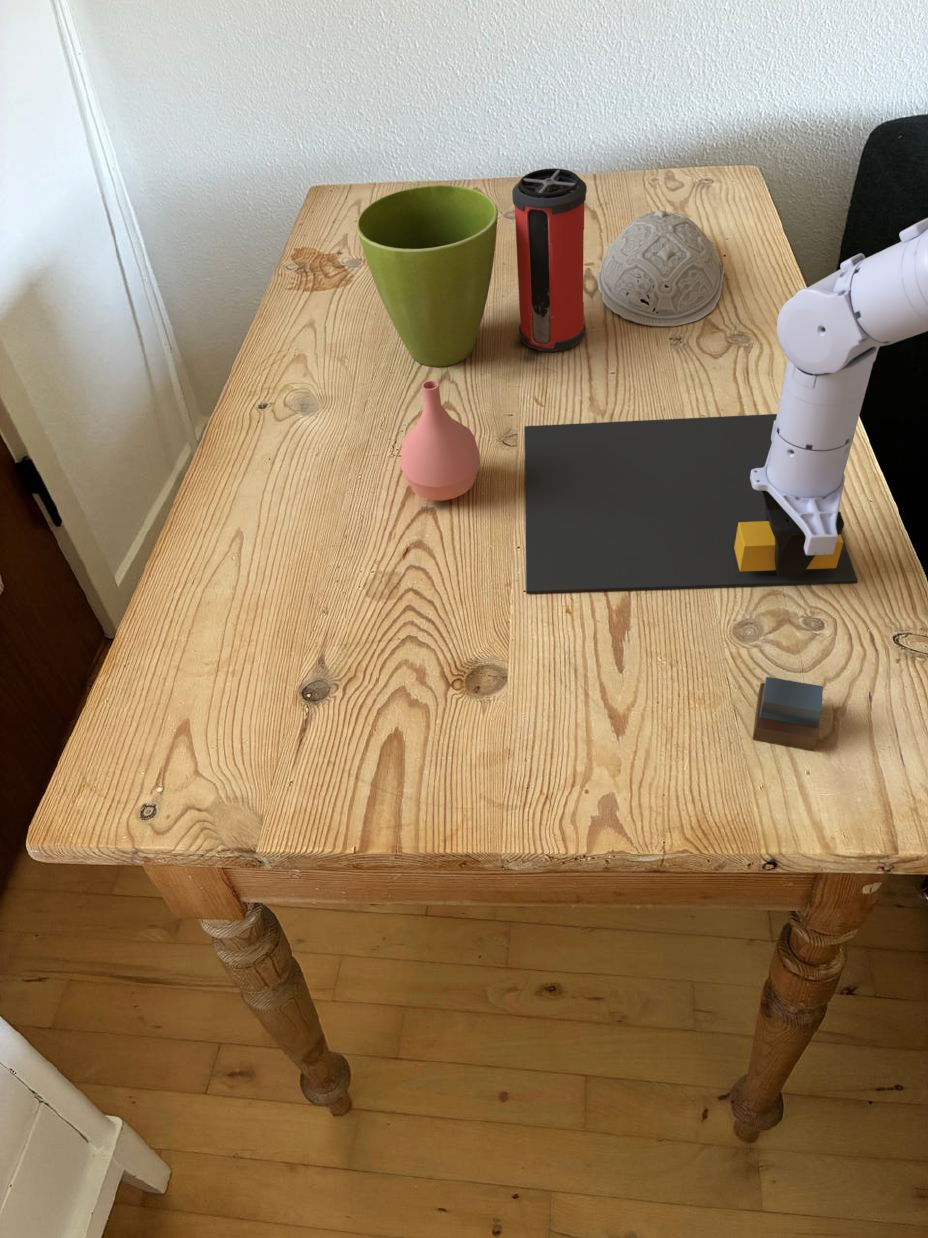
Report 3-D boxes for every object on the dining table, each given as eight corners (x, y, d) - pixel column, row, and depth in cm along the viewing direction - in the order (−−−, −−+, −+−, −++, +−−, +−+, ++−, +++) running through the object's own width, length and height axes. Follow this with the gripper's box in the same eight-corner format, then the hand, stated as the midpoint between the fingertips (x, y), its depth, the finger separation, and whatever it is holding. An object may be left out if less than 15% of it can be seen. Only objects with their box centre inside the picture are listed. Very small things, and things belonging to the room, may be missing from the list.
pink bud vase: (390, 501, 92) (370, 397, 83) (431, 457, 96) (416, 354, 88) (457, 523, 89) (445, 418, 80) (496, 476, 93) (488, 372, 84)
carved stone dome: (593, 322, 110) (600, 266, 105) (600, 234, 127) (607, 182, 122) (727, 334, 109) (740, 278, 104) (715, 243, 126) (727, 192, 121)
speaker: (509, 348, 109) (500, 192, 96) (533, 315, 113) (528, 161, 100) (572, 358, 106) (571, 199, 93) (594, 324, 111) (596, 167, 98)
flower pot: (516, 375, 105) (509, 236, 93) (385, 396, 104) (362, 258, 93) (493, 309, 115) (484, 176, 103) (373, 327, 115) (351, 196, 103)
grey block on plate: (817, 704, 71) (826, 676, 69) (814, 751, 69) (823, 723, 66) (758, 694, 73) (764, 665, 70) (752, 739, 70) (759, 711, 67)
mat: (799, 415, 96) (799, 412, 95) (856, 583, 80) (857, 579, 79) (524, 429, 98) (524, 425, 98) (526, 594, 82) (526, 590, 82)
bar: (828, 544, 81) (835, 518, 79) (836, 568, 79) (843, 542, 77) (734, 547, 82) (738, 521, 80) (739, 571, 80) (744, 546, 78)
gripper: (744, 376, 76) (724, 504, 86) (778, 492, 66) (751, 622, 76) (834, 371, 75) (803, 501, 85) (882, 488, 65) (841, 619, 75)
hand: (784, 558), depth 80 cm, fingers closed on bar, 3 cm apart
